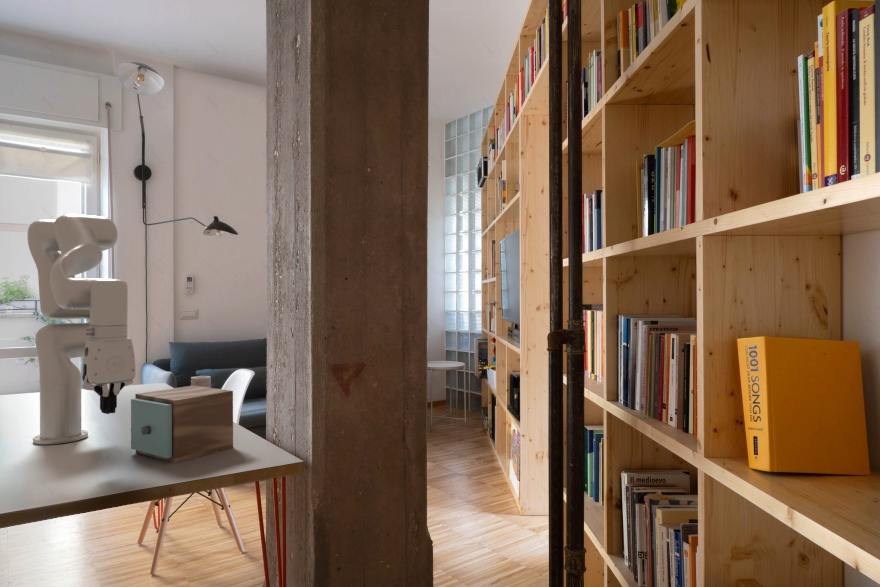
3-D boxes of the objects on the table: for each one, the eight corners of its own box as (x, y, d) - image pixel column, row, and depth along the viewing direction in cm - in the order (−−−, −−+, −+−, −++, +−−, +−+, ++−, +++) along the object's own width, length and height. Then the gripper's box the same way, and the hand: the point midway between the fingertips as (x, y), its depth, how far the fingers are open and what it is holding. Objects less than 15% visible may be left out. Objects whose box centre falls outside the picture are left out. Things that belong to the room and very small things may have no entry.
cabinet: (135, 452, 144) (135, 393, 144) (193, 438, 158) (193, 385, 158) (174, 462, 135) (174, 400, 135) (233, 447, 148) (232, 390, 148)
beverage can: (215, 426, 173) (215, 376, 173) (198, 429, 168) (198, 378, 168) (203, 423, 176) (203, 374, 176) (187, 427, 171) (186, 377, 171)
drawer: (126, 449, 142) (126, 399, 142) (186, 436, 155) (186, 390, 155) (162, 459, 133) (161, 406, 133) (222, 444, 146) (222, 395, 147)
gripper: (81, 336, 124) (81, 421, 124) (149, 331, 136) (149, 409, 137) (65, 334, 128) (64, 416, 128) (132, 330, 140) (131, 405, 141)
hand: (108, 412), depth 132 cm, fingers closed
